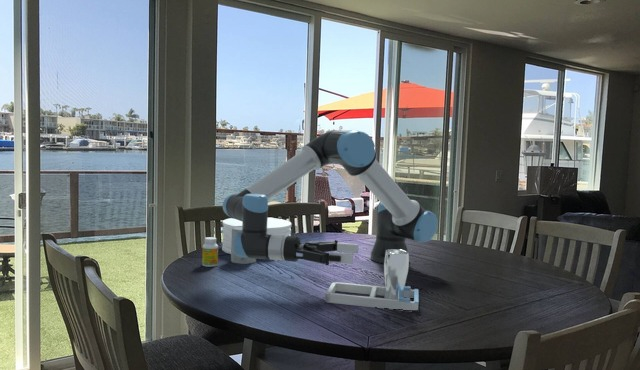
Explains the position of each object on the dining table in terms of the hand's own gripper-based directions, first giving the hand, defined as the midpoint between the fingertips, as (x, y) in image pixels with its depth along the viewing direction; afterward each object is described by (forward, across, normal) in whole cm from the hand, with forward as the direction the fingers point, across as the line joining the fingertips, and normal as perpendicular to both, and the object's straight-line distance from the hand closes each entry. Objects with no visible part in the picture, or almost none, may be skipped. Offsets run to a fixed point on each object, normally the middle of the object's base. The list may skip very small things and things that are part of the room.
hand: (355, 253), depth 149 cm
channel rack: (+6, 0, -13) cm, 14 cm away
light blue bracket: (+16, 0, -14) cm, 21 cm away
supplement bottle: (-54, -21, -13) cm, 59 cm away
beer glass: (+12, 0, -14) cm, 18 cm away
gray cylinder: (-45, -32, -14) cm, 57 cm away
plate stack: (-47, -53, -14) cm, 72 cm away
